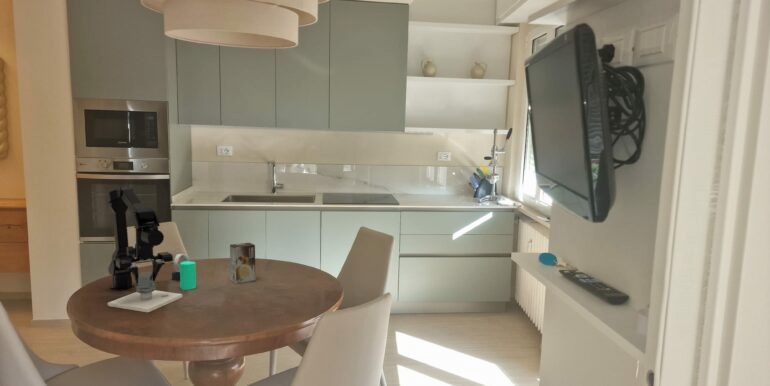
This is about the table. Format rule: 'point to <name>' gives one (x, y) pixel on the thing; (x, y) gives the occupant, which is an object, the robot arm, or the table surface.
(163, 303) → the post plate
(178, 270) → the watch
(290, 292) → the table surface
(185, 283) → the candle
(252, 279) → the coffee box
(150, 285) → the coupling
